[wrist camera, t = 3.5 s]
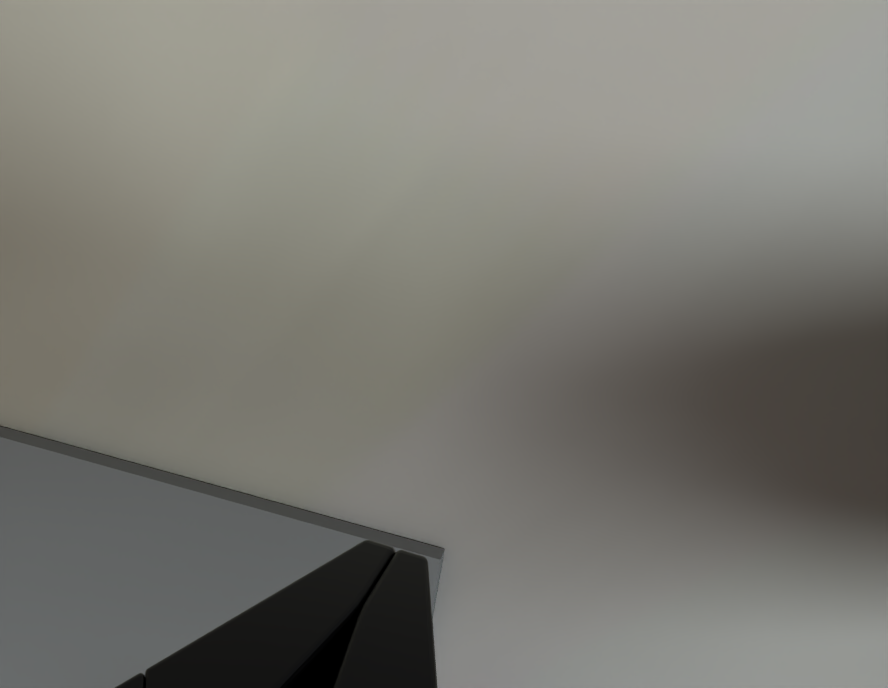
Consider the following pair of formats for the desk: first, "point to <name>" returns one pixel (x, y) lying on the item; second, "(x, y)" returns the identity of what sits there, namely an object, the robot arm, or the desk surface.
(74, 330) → the desk surface
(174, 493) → the mat
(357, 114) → the desk surface
